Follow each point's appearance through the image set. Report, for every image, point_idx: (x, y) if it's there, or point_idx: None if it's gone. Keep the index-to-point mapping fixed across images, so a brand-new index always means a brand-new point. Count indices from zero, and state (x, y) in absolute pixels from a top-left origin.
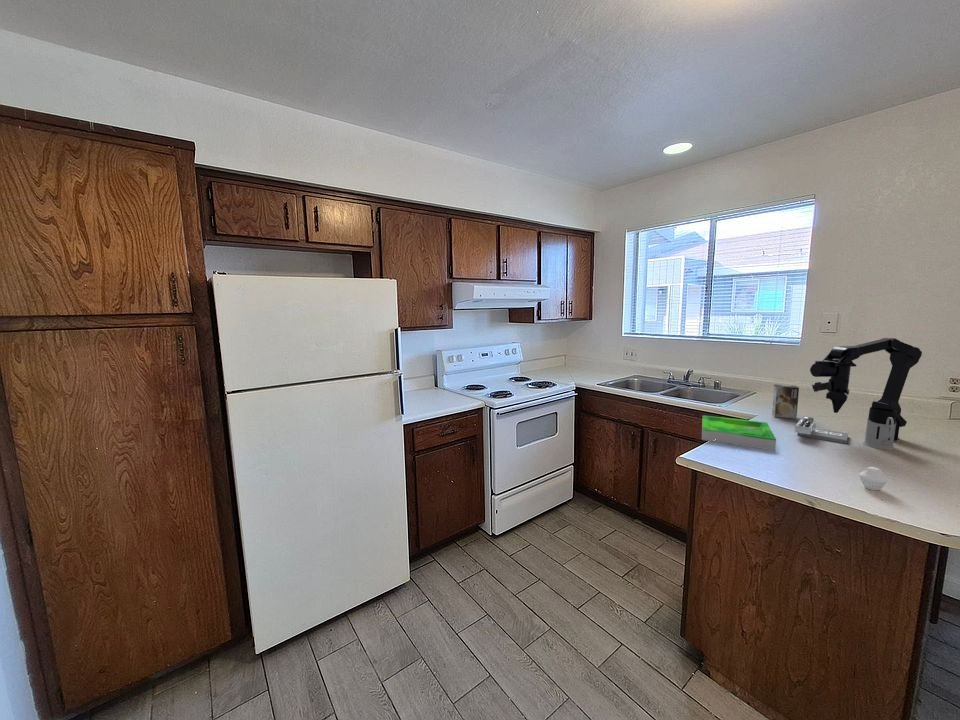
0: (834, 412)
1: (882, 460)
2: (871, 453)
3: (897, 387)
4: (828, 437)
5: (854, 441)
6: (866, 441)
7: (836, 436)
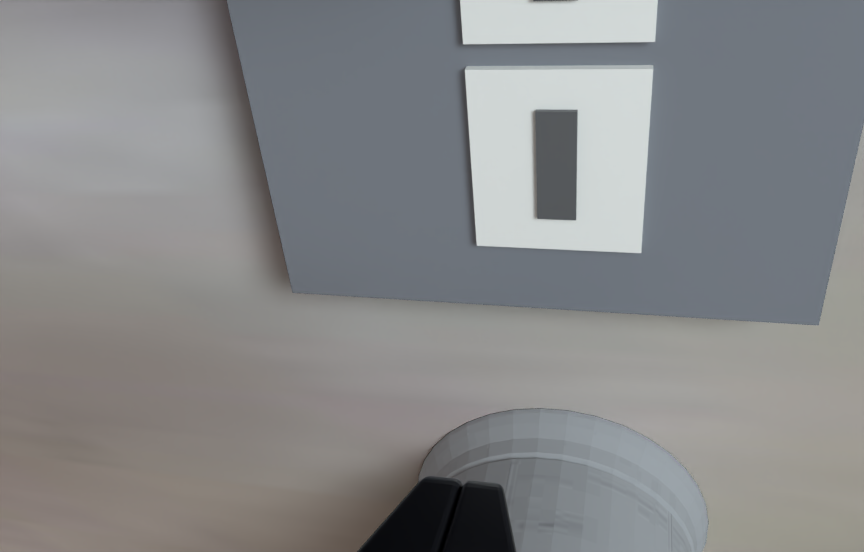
0: (420, 486)
1: (5, 466)
2: (143, 429)
3: None
4: (247, 74)
5: (553, 340)
6: (482, 462)
7: (408, 178)
